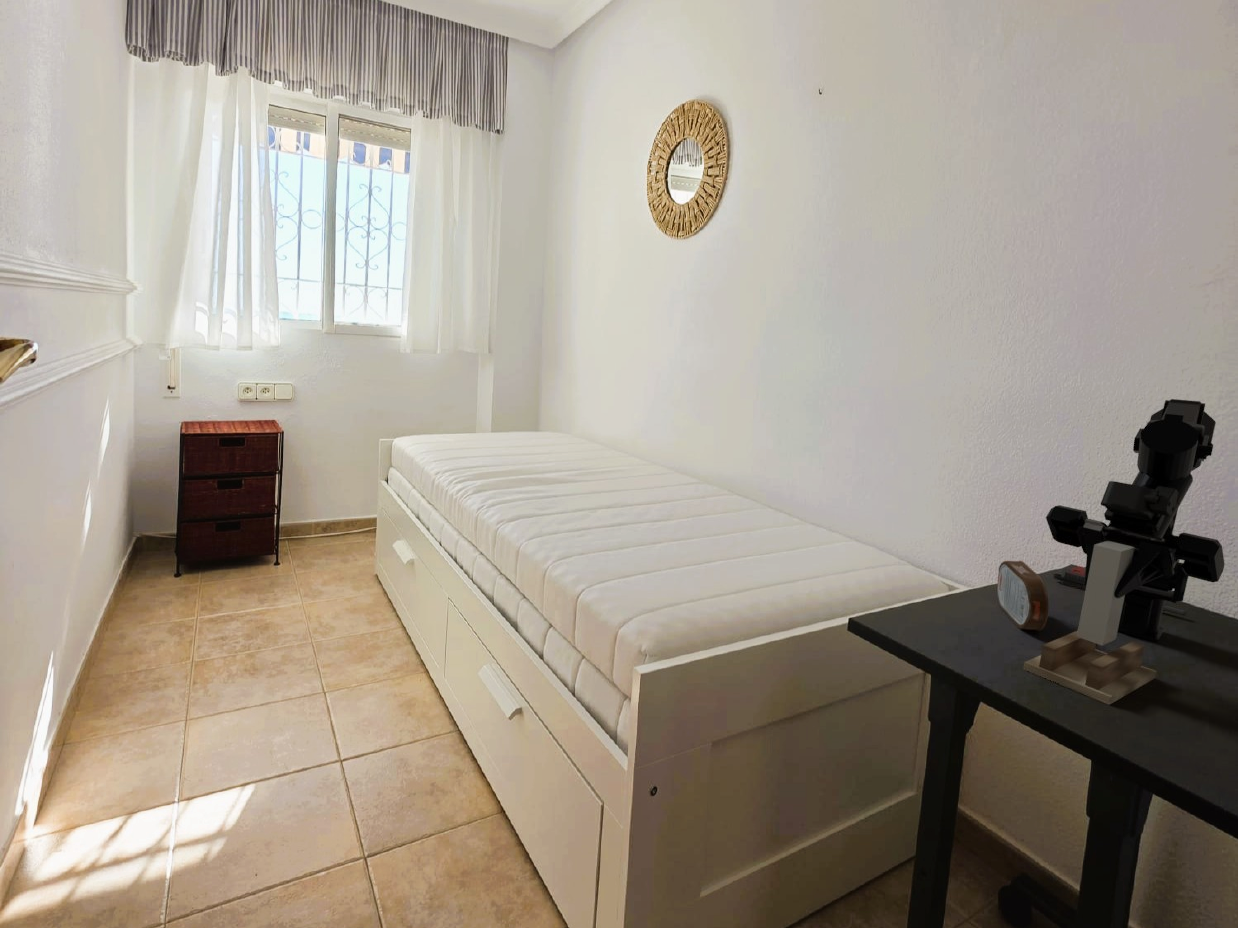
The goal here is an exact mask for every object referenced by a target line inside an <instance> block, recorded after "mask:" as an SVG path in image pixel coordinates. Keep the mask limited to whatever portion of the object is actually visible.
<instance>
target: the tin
mask: <svg viewBox="0 0 1238 928" xmlns="http://www.w3.org/2000/svg"><path fill="white" fill-rule="evenodd" d="M997 577H998V578H997V586H996V595H997V601H998V604H999V606H1000V607H1001V609H1002V610H1003V612H1004V613H1005V615H1007V616H1008V617H1009V619H1010V620H1011V621H1012V622H1013V623H1014V624H1015V626H1016V627H1017V628H1019V629H1021V630H1025V631H1026V630H1027V631H1028V630H1029V631H1036V632H1041V631H1042V630H1044V628H1045V626H1046V624H1047V621H1048V617H1049V596H1048V591H1047V586H1046V584H1045V582H1044V580H1043V578H1042V577H1041V576H1040V575H1039V574H1037V573H1036V572H1035V571H1034V570H1033V569H1032V568H1031V567H1029V566H1028V565H1027V564H1026V563H1025V562H1024V561H1023V560H1004V561H1002V562H1001V563H1000V565H999V567H998V576H997Z"/></svg>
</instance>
